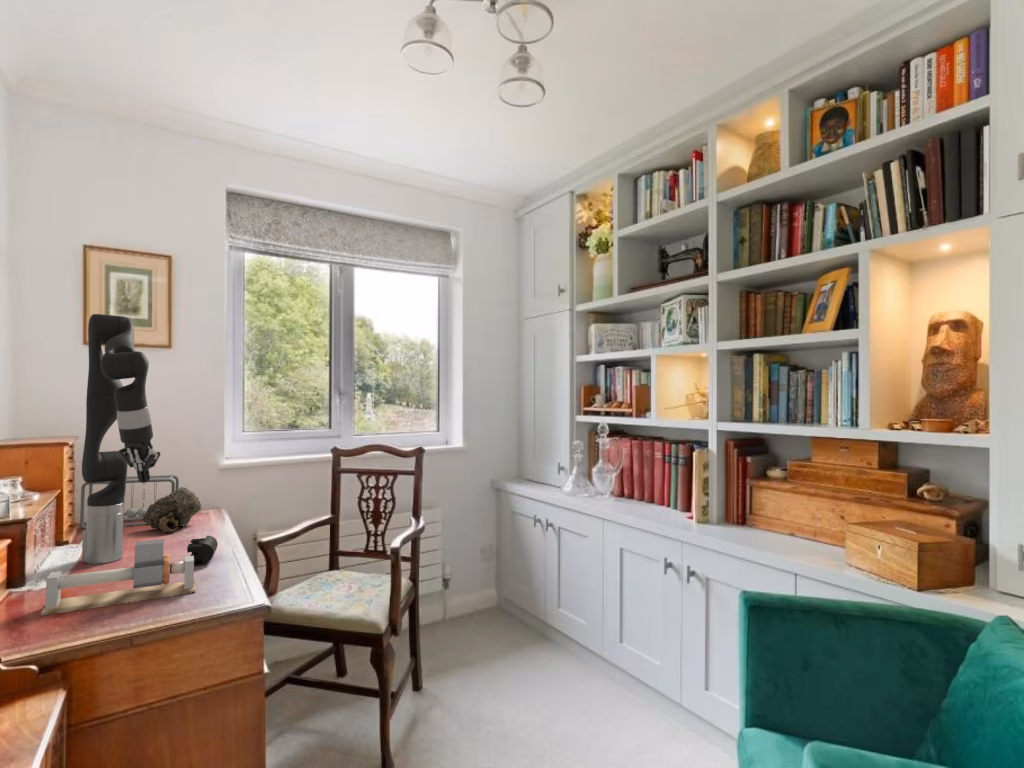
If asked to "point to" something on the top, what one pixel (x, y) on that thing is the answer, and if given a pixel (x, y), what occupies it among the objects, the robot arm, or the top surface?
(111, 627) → the top surface
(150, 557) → the grooved slider block
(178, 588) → the base board
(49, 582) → the rod
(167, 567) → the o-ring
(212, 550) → the end cap
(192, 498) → the rock
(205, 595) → the top surface
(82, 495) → the newton's cradle
